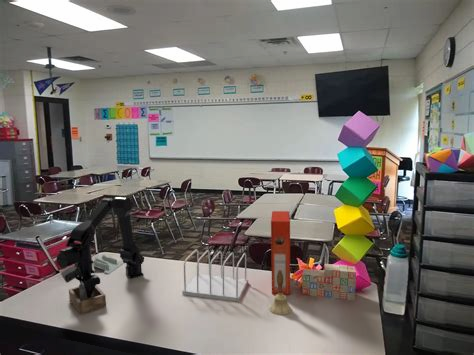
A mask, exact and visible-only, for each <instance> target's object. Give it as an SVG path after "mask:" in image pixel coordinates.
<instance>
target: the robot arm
mask: <svg viewBox="0 0 474 355" xmlns="http://www.w3.org/2000/svg"><path fill="white" fill-rule="evenodd" d="M112 209H113V210H112ZM132 210H133V203H132V199H131V198H129V197H121V196H116V197H114V198H108V197H107V198H103V199H102V200H101V202H100V204H99V205H98V206H96V207H95V209H94V211H93V212H92V213H91V214H90V215H89V217H88V218H87V219H86V220H85V221H84V222H83V221H82V223H79V224H77V226H75V227H74V228H73V229H72V230H71V232H70V236H69V238H68V240H67V243H66V245H65V248H62V249H60V250H59V253H58V254H57V256H56V258H55V259H56V260H55V261H56V263H57V265H58V266H59V268H60V269H61V268H62V269H65V268H66V269H65V270H63V271H61V272H60V275H61V277H62V279H63V281H65V282H66V283H70V282H71V281H72V280H74V279H76V280H78V282H79V285H80V284H81V286H82V287H84V288H85V290H86V294H87V297H88V298H90V297H91V295H92V293H93V290H94V288H95V286H96V285H97V286H98V285H100V284H101V278H100V277H99V276H98V274H94V273H95V270H94V268H93V265H92V263H93V262H94V260H93V259H92V247H91V246H94V245H95V242H94V241H92V240H93V238H94V236H95V234H96V230H97V227H98V226H99V225H100V223H101V222H102V221H103V220H104V219H105V217H106V216H107V215H108V213H109V212H110V211H113V212H114V214H115V215H116V216H117V217H118V224H119V229H120V230H119V231H120V235H121V240H122V246H121V249H119V250H118V251H119V258H121V261H123V262H124V264H125V275H126V276H127V277H129V278H130V279H134V278H137V277H140V276H143V275H144V273H143V272H142V271H143V270H142V269H143V268H142V265H143V263H144V262H145V257H144V256H143V255H142V254H140V250H139V248H138V246H137V245H136V243H135V241H134V235H133V228H132V222H131V217H130V215H131V212H132ZM67 267H68V268H67Z"/></svg>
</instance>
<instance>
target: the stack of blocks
mask: <svg viewBox="0 0 474 355" xmlns="http://www.w3.org/2000/svg"><path fill="white" fill-rule="evenodd" d="M323 268H324V269H323V270H321V269H311V268H303V269H302V280H301V281H302V285H301V287H302V289H301V293H302V295H303V296H305V295H306V296H312V297H319V298H321V297H322V298H332V299H340V300H349V301H355V300H356V287H357V283H356V282H357V279H356V277H357V271H356V266H352V265H346V264H334V263H333V264H330V263H324V267H323Z"/></svg>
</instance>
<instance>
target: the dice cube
mask: <svg viewBox="0 0 474 355" xmlns="http://www.w3.org/2000/svg"><path fill="white" fill-rule="evenodd" d="M78 286H79V292H80V301H83V300H86V299H90V298H93V297H94V294H93V293H92V295H91V297H90V298H88V297H87V294H86V290H85V288H84V287H82V286H81V284H80V283H79V285H78Z"/></svg>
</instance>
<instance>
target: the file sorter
mask: <svg viewBox="0 0 474 355" xmlns="http://www.w3.org/2000/svg"><path fill="white" fill-rule="evenodd" d="M195 253H196V257H197V258H196V259H197V260H196V261H197V262H196V274H195V276H194V277H193V278H192V279H191V280H190V282H188V284H187V283H186V279H187V278H186V263H187V260H189V259H190V258H191V257H192V256H193V255H194V254H195ZM206 254H208V274H201V273H200V267H199V265H200V261H201V259H203V257H204V256H205V255H206ZM199 255H200V254H199V250H198V249H194V250H193V251H192V252H191V253H190V254H189V255H188V256H187V257H186V258H185V260H184V261H183V283H184V284H183V285H184V288H183V290H182V295H183V296H190V297H191V296H192V297H198V298H199V297H200V298H206V299H207V298H208V299H213V300H223V301H232V302H240V300H241V298H242V296H243V294H244V292H245V290H246V288H247V286H248V284H249V279H248V278H247V253H246V252H243V254H242V256H241V257H240V259H239V260H238V262H237V264H236V269H235V253H234V252H233V251H232V252H231V253H229V255H228V256H227V257H226V259H225V260H224V261H223V252H222V250H220V251H218V253H216V255H215V256H214V257H213V258H212V259H211V254H210V250H209V249H206V251H204V253H203V254H202V255H201V256H200V257H199ZM219 255H220V275H212V265H213V264H212V263H213V262H214V260H215V259H216V258H218V256H219ZM231 256H232V277H230V276H225V264H226V262H227V261H228V260H229V259H230V258H231ZM243 258H244V278H239V265H240V263H241V262H242V260H243ZM235 270H236V272H235ZM235 273H236V274H235ZM235 275H236V277H235Z"/></svg>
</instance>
